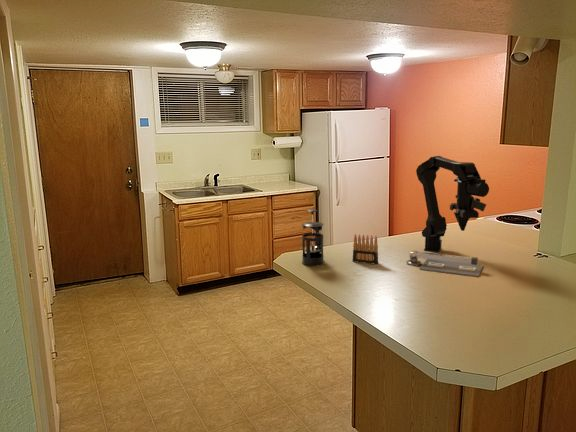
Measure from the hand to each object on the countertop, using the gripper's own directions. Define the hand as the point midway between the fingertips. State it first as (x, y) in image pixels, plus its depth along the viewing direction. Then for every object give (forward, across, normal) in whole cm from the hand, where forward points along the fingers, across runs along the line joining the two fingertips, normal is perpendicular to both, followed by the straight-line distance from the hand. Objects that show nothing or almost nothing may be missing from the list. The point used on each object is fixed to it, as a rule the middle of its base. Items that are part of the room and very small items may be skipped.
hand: (462, 230), depth 195 cm
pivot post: (+13, -4, +20) cm, 25 cm away
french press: (+13, -1, +62) cm, 64 cm away
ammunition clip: (+13, -1, +40) cm, 42 cm away
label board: (+13, -10, +7) cm, 18 cm away
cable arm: (+10, -8, +10) cm, 17 cm away
